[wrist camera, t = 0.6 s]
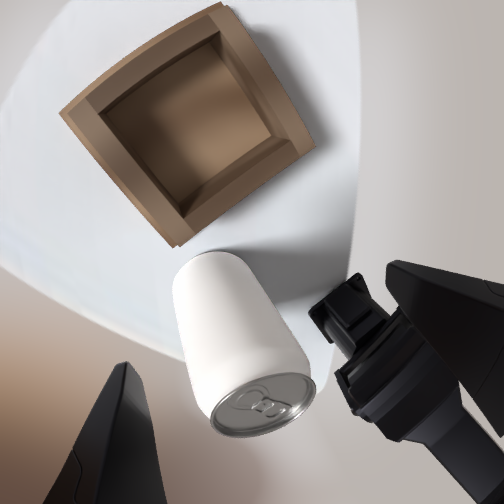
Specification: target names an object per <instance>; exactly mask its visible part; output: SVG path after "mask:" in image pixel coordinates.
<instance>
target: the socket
mask: <svg viewBox="0 0 504 504" xmlns="http://www.w3.org/2000/svg"><path fill="white" fill-rule="evenodd" d="M59 114H60V116H61V117H62V118H63V120H64V121H65V122H66V124H67V125H68V126H69V127H70V129H71V130H72V131H73V133H74V134H75V135H76V136H77V138H78V139H79V140H80V141H81V143H82V144H83V145H84V146H85V148H86V149H87V150H88V151H89V153H90V154H91V155H92V156H93V157H94V159H95V160H96V161H97V162H98V164H99V165H100V166H101V167H102V168H103V170H104V171H105V172H106V173H107V174H108V176H109V177H110V178H111V179H112V180H113V181H114V183H115V184H116V185H117V186H118V187H119V189H120V190H121V191H122V192H123V193H124V194H125V196H126V197H127V198H128V199H129V200H130V201H131V202H132V204H133V205H134V206H135V207H136V208H137V209H138V210H139V212H140V213H141V214H142V215H143V216H144V217H145V218H146V219H147V221H148V222H149V223H150V224H151V225H152V226H153V227H154V228H155V230H156V231H157V232H158V233H159V234H160V235H161V236H162V237H163V238H164V239H165V241H166V242H167V243H168V244H169V245H170V246H171V247H172V248H174V247H175V246H177V245H178V246H179V247H181V246H182V245H183V244H185V243H186V242H187V241H188V240H190V239H191V238H192V237H193V236H195V235H196V234H197V233H199V232H200V231H201V230H202V229H204V228H205V227H206V226H208V225H209V224H210V223H212V222H213V221H214V220H215V219H217V218H218V217H219V216H221V215H222V214H223V213H225V212H226V211H227V210H229V209H230V208H231V207H233V206H234V205H235V204H237V203H238V202H239V201H241V200H242V199H243V198H245V197H246V196H247V195H249V194H250V193H251V192H253V191H254V190H256V189H257V188H258V187H260V186H261V185H262V184H264V183H265V182H267V181H268V180H269V179H271V178H272V177H273V176H275V175H276V174H278V173H279V172H280V171H282V170H283V169H285V168H286V167H287V166H289V165H290V164H292V163H293V162H295V161H296V160H297V159H299V158H300V157H302V156H303V155H305V154H306V153H307V152H309V151H310V150H312V149H313V148H315V147H316V146H315V144H314V142H313V140H312V138H311V136H310V134H309V132H308V131H307V129H306V127H305V125H304V123H303V121H302V120H301V118H300V116H299V114H298V113H297V111H296V109H295V107H294V106H293V104H292V102H291V100H290V99H289V97H288V95H287V94H286V92H285V90H284V89H283V87H282V85H281V84H280V82H279V80H278V79H277V77H276V75H275V74H274V72H273V71H272V69H271V67H270V66H269V64H268V63H267V61H266V60H265V58H264V57H263V55H262V53H261V52H260V50H259V49H258V47H257V46H256V44H255V43H254V41H253V40H252V39H251V37H250V36H249V34H248V33H247V31H246V30H245V28H244V27H243V26H242V24H241V23H240V21H239V20H238V19H237V17H236V16H235V15H234V13H233V12H232V10H231V9H230V8H229V6H228V5H226V6H224V5H223V4H222V3H221V1H220V2H218V3H216V4H214V5H212V6H210V7H208V8H206V9H204V10H202V11H200V12H198V13H196V14H194V15H192V16H190V17H188V18H186V19H185V20H183V21H181V22H179V23H177V24H176V25H174V26H172V27H170V28H169V29H167V30H165V31H164V32H162V33H160V34H159V35H157V36H156V37H154V38H152V39H151V40H149V41H148V42H146V43H145V44H143V45H142V46H140V47H139V48H137V49H136V50H134V51H133V52H132V53H130V54H129V55H127V56H126V57H125V58H123V59H122V60H120V61H119V62H118V63H116V64H115V65H114V66H112V67H111V68H110V69H109V70H107V71H106V72H105V73H103V74H102V75H101V76H100V77H98V78H97V79H96V80H95V81H94V82H92V83H91V84H90V85H89V86H88V87H87V88H85V89H84V90H83V91H82V92H81V93H80V94H79V95H77V96H76V97H75V98H74V99H73V100H72V101H71V102H70V103H69V104H68V105H67V106H66V107H64V108H63V109H62V110H61V111H60V112H59Z"/></svg>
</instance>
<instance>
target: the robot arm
mask: <svg viewBox="0 0 504 504" xmlns="http://www.w3.org/2000/svg"><path fill="white" fill-rule="evenodd" d="M385 282H386V287H387V289H388V290H389V292H390V293H391V295H392V296H393V298H394V299H395V300H396V302H397V303H398V305H399V306H398V307H397V310H396V311H395V312H394V313H393V314H392V315H391V316H390V315H389V314H388V313H387V312H386V311H385V310H384V309H383V308H382V307H380V306H379V305H378V304H377V303H376V302H375V301H374V300H373V299H372V298H371V295H370V293H369V291H368V288H367V285H366V283H365V281H364V278H363V276H362V275H361V274H360V273H356V274H354V275H353V276H352V277H351V278H349V279H348V280H347V281H346V282H344V283H343V284H342V285H341V286H339V287H338V288H337V289H336V290H334V291H333V292H332V293H331V294H329V295H328V296H327V297H326V298H324V299H323V300H322V301H321V302H319V303H318V304H317V305H315V306H314V307H313V308H311V309H310V310H309V312H308V315H309V316H310V317H311V319H312V320H313V322H314V323H315V324H316V326H317V327H318V328H319V330H320V331H321V333H322V334H323V335H324V337H325V338H326V339H327V341H328V342H329V343H330V344H332V343H335V344H336V345H337V346H338V347H339V349H340V350H341V351H342V353H343V354H344V355H345V357H346V358H347V359H348V361H347V362H346V363H345V364H344V365H343V366H342V367H341V368H340V369H338V370H337V371H336V372H334V374H335V376H336V378H337V382H338V384H339V386H340V388H341V390H342V392H343V395H344V397H345V398H346V401H347V403H348V405H349V407H350V408H351V412H352V413H353V415H355V416H360V417H361V418H362V419H364V420H365V421H367V422H369V423H373V422H374V424H375V425H376V426H377V427H378V428H379V429H380V430H381V432H382V433H383V434H384V436H385V437H386V438H387V439H389V440H392V441H395V442H400V441H402V440H407V441H412V442H417V443H421V444H424V445H425V446H426V448H427V449H428V450H429V451H430V452H431V453H432V454H433V455H434V456H435V457H436V459H437V460H438V461H439V462H440V463H441V464H442V465H443V466H444V467H445V468H446V470H447V471H448V472H449V473H450V474H451V475H452V476H453V478H454V479H455V480H456V481H457V482H458V483H459V484H460V485H461V486H462V487H463V489H464V490H465V491H466V492H467V493H468V494H469V495H470V496H471V497H472V499H473V500H474V501H475V502H476V503H477V504H504V451H503V449H502V448H501V447H500V446H499V445H498V444H497V443H496V442H495V440H494V439H493V438H492V437H491V436H490V435H489V433H488V432H487V431H486V430H485V429H484V428H483V427H482V426H481V424H480V423H479V422H478V421H477V420H476V419H475V418H474V417H473V416H472V414H471V413H470V412H469V411H468V410H467V409H466V408H465V407H464V406H463V405H462V400H461V393H460V388H459V382H460V383H461V384H462V385H463V387H464V388H465V389H466V391H467V392H468V393H469V395H470V396H471V397H472V398H473V400H474V402H475V403H476V404H477V406H478V407H479V409H480V410H481V411H482V413H483V414H484V416H485V417H486V418H487V420H488V421H489V423H490V424H491V426H492V427H493V428H494V430H495V432H496V433H497V434H498V436H499V437H500V438H501V437H502V436H503V435H504V284H500V283H495V282H491V281H487V280H482V279H479V278H474V277H470V276H466V275H462V274H458V273H453V272H449V271H445V270H441V269H436V268H432V267H428V266H423V265H419V264H414V263H410V262H405V261H400V260H394V261H392V262H390V263H388V264H387V267H386V280H385ZM458 380H459V381H458ZM43 504H167V500H166V496H165V491H164V487H163V482H162V477H161V472H160V467H159V461H158V456H157V450H156V443H155V437H154V430H153V424H152V420H151V416H150V412H149V408H148V404H147V400H146V396H145V391H144V386H143V382H142V380H141V378H140V376H139V375H138V373H137V372H136V371H135V369H134V368H133V366H132V365H131V364H130V363H129V362H127V361H126V362H122V363H119V364H117V365H116V366H115V367H114V369H113V371H112V373H111V375H110V376H109V378H108V380H107V382H106V384H105V386H104V387H103V389H102V391H101V393H100V395H99V397H98V399H97V400H96V402H95V404H94V406H93V408H92V410H91V412H90V414H89V416H88V418H87V420H86V421H85V424H84V425H83V427H82V429H81V431H80V433H79V436H78V438H77V439H76V441H75V444H74V446H73V450H71V452H70V454H69V456H68V458H67V460H66V462H65V464H64V466H63V468H62V470H61V472H60V474H59V476H58V477H57V479H56V481H55V483H54V485H53V486H52V488H51V490H50V491H49V493H48V495H47V497H46V498H45V500H44V502H43Z"/></svg>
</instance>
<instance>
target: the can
mask: <svg viewBox="0 0 504 504" xmlns="http://www.w3.org/2000/svg"><path fill="white" fill-rule="evenodd" d="M173 300H174V306H175V312H176V317H177V322H178V327H179V332H180V337H181V342H182V346H183V351H184V356H185V360H186V364H187V368H188V373H189V377H190V381H191V385H192V388H193V392H194V395H195V399H196V401H197V404H198V406H199V408H200V409H201V410H202V412H203V413H204V414H205V415H206V416H207V417H208V418H209V419H210V422H211V425H212V427H213V429H214V430H215V431H216V432H217V433H219V434H221V435H223V436H227V437H232V438H248V437H255V436H260V435H264V434H267V433H270V432H273V431H275V430H277V429H279V428H282V427H283V426H285V425H287V424H289V423H291V422H292V421H294V420H295V419H296V418H298V417H299V416H300V415H301V414H302V413H303V412H304V411H305V410H306V409H307V408H308V407H309V406H310V404H311V403H312V401H313V399H314V397H315V394H316V385H315V383H314V381H313V380H312V379H311V371H310V363H309V360H308V358H307V356H306V354H305V353H304V351H303V349H302V348H301V346H300V345H299V343H298V342H297V340H296V338H295V337H294V335H293V334H292V332H291V331H290V329H289V328H288V326H287V325H286V323H285V321H284V320H283V318H282V317H281V315H280V314H279V312H278V311H277V309H276V308H275V306H274V305H273V303H272V302H271V300H270V299H269V297H268V295H267V294H266V292H265V291H264V289H263V288H262V286H261V285H260V283H259V282H258V280H257V279H256V277H255V276H254V274H253V273H252V271H251V270H250V268H249V267H248V266H247V264H246V263H245V262H244V261H243V260H242V259H240V258H239V257H237V256H235V255H233V254H231V253H227V252H208V253H204V254H201V255H198V256H196V257H194V258H192V259H191V260H189V261H188V262H187V263H186V264H185V265H184V266H183V267H182V268H181V269H180V271H179V272H178V274H177V275H176V277H175V280H174V283H173Z"/></svg>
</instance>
